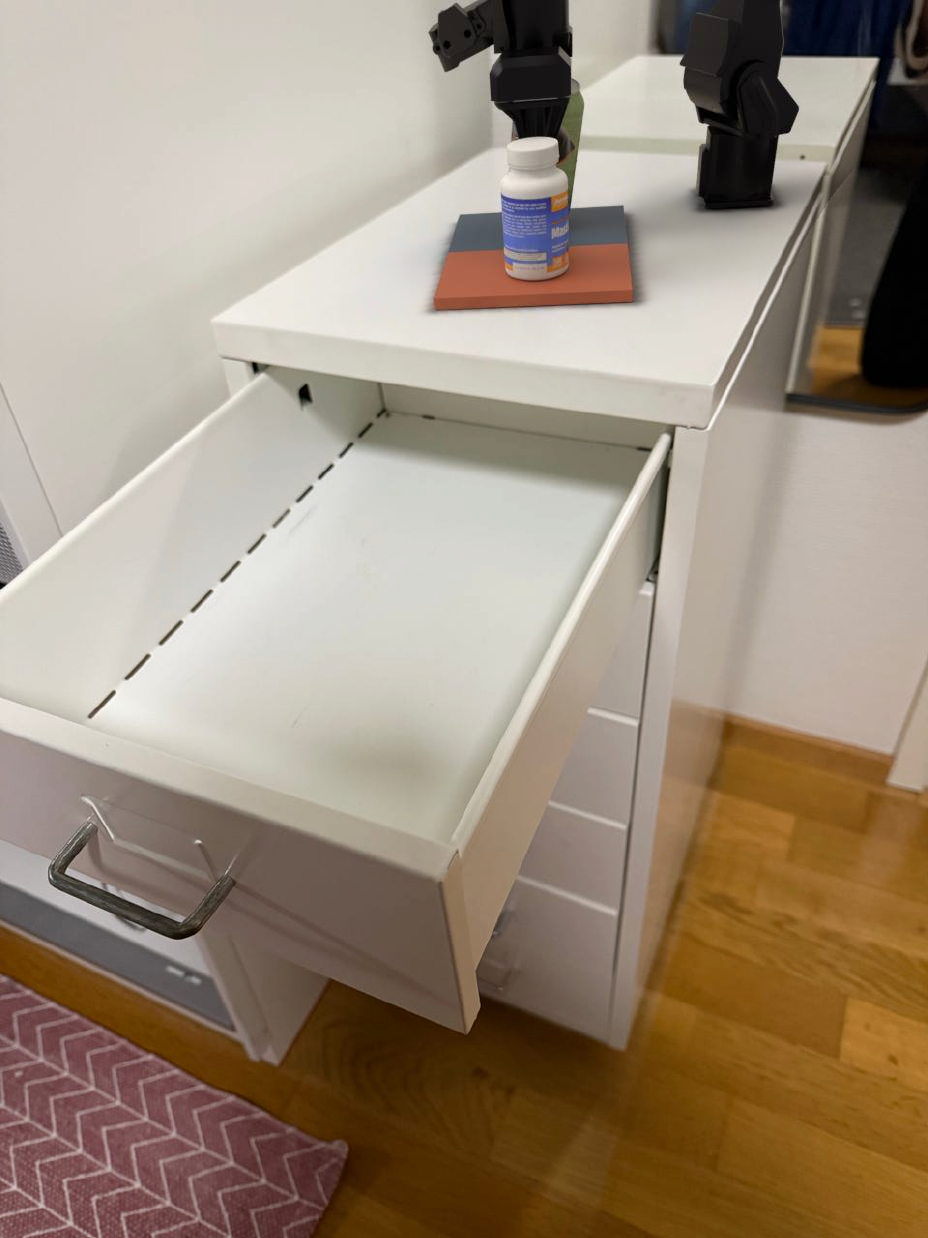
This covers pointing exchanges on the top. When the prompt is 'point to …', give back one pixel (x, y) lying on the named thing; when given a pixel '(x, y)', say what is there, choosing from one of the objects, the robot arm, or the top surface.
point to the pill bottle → (535, 210)
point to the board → (588, 279)
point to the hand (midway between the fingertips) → (537, 168)
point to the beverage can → (567, 137)
